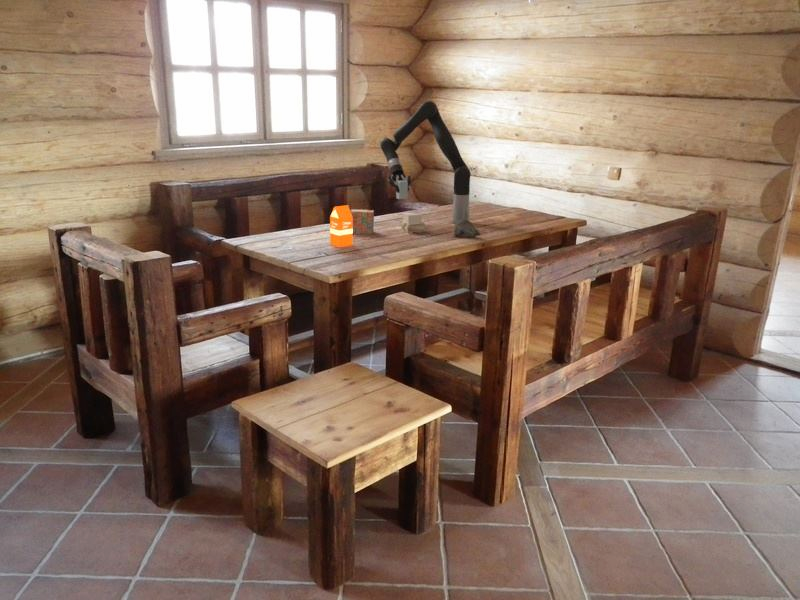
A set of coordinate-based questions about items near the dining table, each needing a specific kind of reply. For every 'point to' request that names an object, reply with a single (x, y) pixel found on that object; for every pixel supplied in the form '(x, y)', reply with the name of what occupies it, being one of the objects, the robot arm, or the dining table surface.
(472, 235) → the mineral rock
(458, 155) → the robot arm
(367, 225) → the stack of blocks
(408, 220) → the tower top slab
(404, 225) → the tower bottom slab
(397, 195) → the pillar block
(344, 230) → the orange juice
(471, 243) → the dining table surface
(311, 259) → the dining table surface
